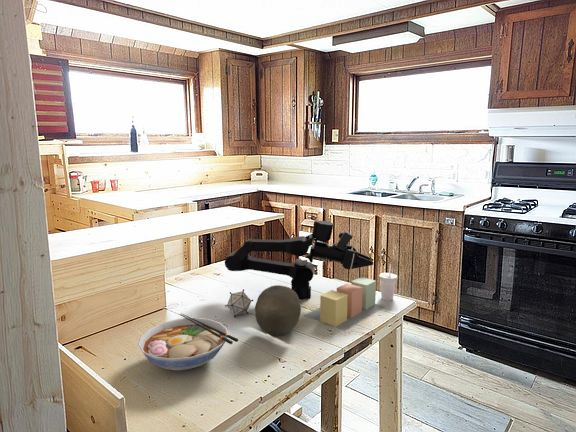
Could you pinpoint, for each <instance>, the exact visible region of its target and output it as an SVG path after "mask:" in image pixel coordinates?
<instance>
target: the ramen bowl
mask: <svg viewBox="0 0 576 432" xmlns="http://www.w3.org/2000/svg"><path fill="white" fill-rule="evenodd" d="M179 315H180V316H182V317H183V318H177V319H172V320H169V321H164V322H161V323H159V324H157V325H154V326H152V327H150V328H149V329H147V330H146V331H145V332H144V333H143V334H142V335H140V337H139V339H138V343H137V346H138V347H139V348H140V350H141V353H142V354H143V355H144V356H145V358H147V360H148V361H149V362H150V363H152V364H154V365H156V366H158V367H160V368H162V369H165V370H171V371H186V370H191V369H194V368H198V367H200V366H203V365H205V364H206V363H208V362H210V361H211V360H213V359H214V358H215V357H216V356H217V355H218V354H219V352H220V351H221V349H222V347H223V346H224V345H225V343H228V344H229V345H233V343H234V342H236V343H237V342H239V338H238V337H235V336H233V335H231V334H228V332H229V331H228V328H227V327H226V326H225V325H223V323H222V322H220V321H216V320H213V319H211V318H210V319H209V318H202V317H201V318H200V317H190V316H189V315H186V314H183V313H182V312H181V313H179ZM233 341H234V342H233Z"/></svg>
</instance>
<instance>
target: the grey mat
mask: <svg viewBox="0 0 576 432" xmlns="http://www.w3.org/2000/svg"><path fill="white" fill-rule="evenodd" d="M383 308H385V305H381V304H377V303H375V305H373V306H371V307H369V308H368V309H362V312H361V313H359V314H357V315H355V316H354V317H352V318H351V317H348V316H347V321H345V322H343V323H341V324H340V325H338V326H336V327H335V326H333V325H330V324H327V323H324V322H322V321H320V307H319V308H316V309H314V310H312V311H309V312H308V313H306V314H304V315H303V316H304V317H306V318H308V319H312V320H313V321H317V322H320V323H323V324H325V325H328V326H331V327H333V328H336V329H339V330H342V331H347V330H348V329H350V328H352V327H353V326H355V325H357V324H359V323H360V322H362V321H363V320H366V319H367V318H368V317H370V316H372V315H374V314H375V313H377V312H379V311H380V310H383Z"/></svg>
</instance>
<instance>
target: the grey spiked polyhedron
mask: <svg viewBox="0 0 576 432" xmlns="http://www.w3.org/2000/svg"><path fill="white" fill-rule="evenodd" d="M244 291H245V289H244V288H243V289H242V291H238V292H234V293H233V292H231V291H229V294H230V296H229V299H228V301H227V304H225V305H224V307H227V308H228V309H229V310H230V311H231V313H232V314H233V318H236V316H237V315H238V316H239V315H241V314H242V315H243V314H245V313H246V314H247V315H249V308H250V305H251V304H252V302H254V299H251V298H250V297H249V296H248V295H247V294H246V293H245V292H244Z"/></svg>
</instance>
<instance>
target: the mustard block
mask: <svg viewBox="0 0 576 432" xmlns="http://www.w3.org/2000/svg"><path fill="white" fill-rule="evenodd" d="M319 297H320V299H319V301H320V304H319V305H320V307H319V308H320V321H322V322H324V323H323V324H325V323H327V324H330V325H333V326H335V327H334V328H336V326H338V325H340V324H341V323H343V322H345V321H347V297H348V295H347V294H343V293H340V292H337V290H333V289H331V290H329V291H327V292H325V293H323V294H320V296H319ZM322 322H321V323H322ZM327 324H326V325H327ZM330 325H329V326H330ZM333 326H332V327H333Z"/></svg>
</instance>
